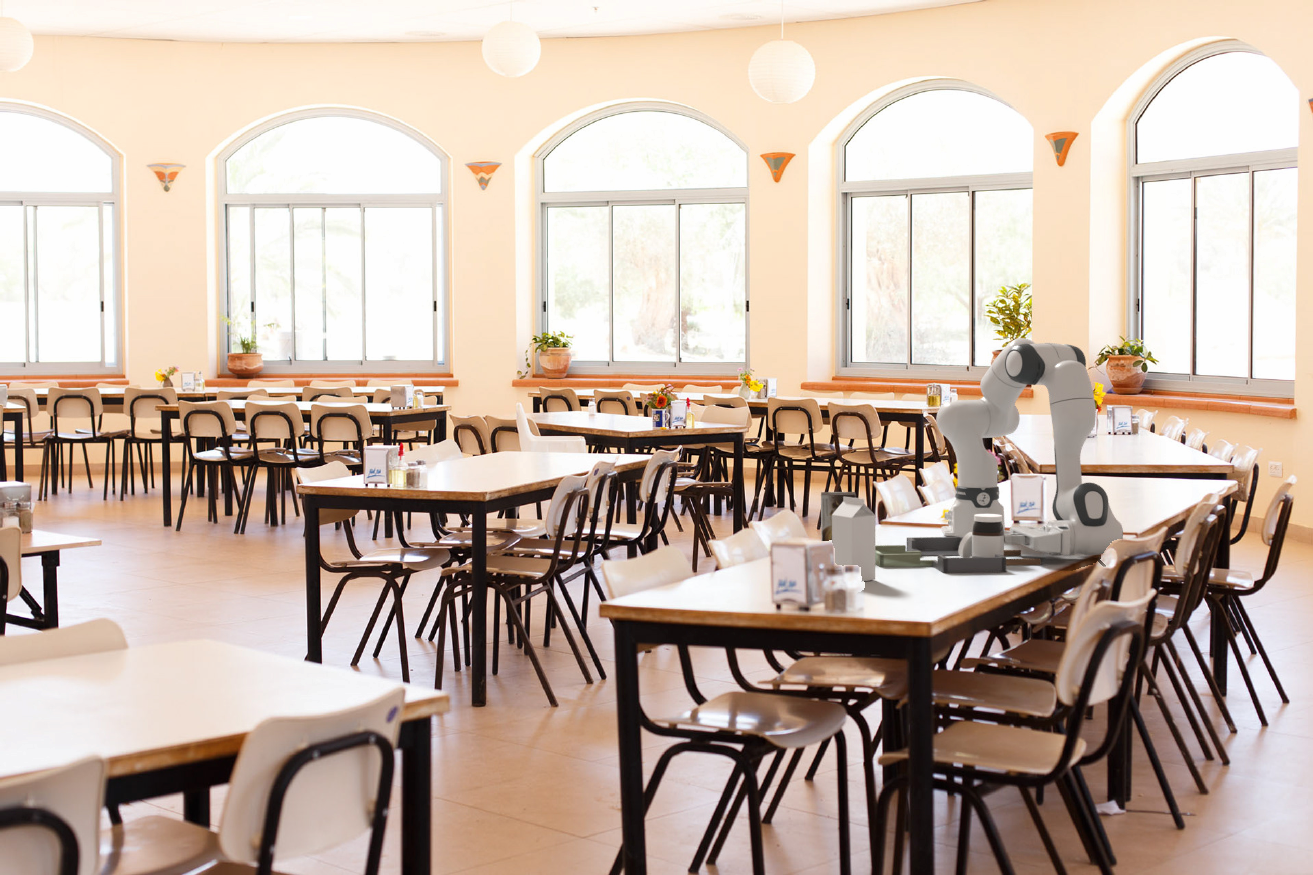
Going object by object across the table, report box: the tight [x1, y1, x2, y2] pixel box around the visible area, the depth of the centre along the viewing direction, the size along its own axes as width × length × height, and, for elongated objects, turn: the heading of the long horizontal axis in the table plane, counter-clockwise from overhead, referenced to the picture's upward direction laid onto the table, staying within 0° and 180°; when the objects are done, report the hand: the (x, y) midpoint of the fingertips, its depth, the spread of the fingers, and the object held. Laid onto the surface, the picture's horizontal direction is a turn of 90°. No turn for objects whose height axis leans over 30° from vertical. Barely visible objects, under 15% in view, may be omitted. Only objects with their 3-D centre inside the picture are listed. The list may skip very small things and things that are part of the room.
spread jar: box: [958, 514, 1005, 558], centre depth 331 cm, size 12×11×12 cm
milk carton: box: [832, 497, 876, 582], centre depth 303 cm, size 7×7×19 cm
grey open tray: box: [906, 536, 963, 557], centre depth 344 cm, size 10×15×4 cm
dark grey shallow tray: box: [931, 554, 1007, 574], centre depth 318 cm, size 10×15×4 cm
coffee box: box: [820, 491, 857, 541], centre depth 344 cm, size 9×6×16 cm
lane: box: [875, 544, 1042, 568], centre depth 331 cm, size 16×40×3 cm, turn 93°
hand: (1003, 538), depth 332 cm, fingers closed
